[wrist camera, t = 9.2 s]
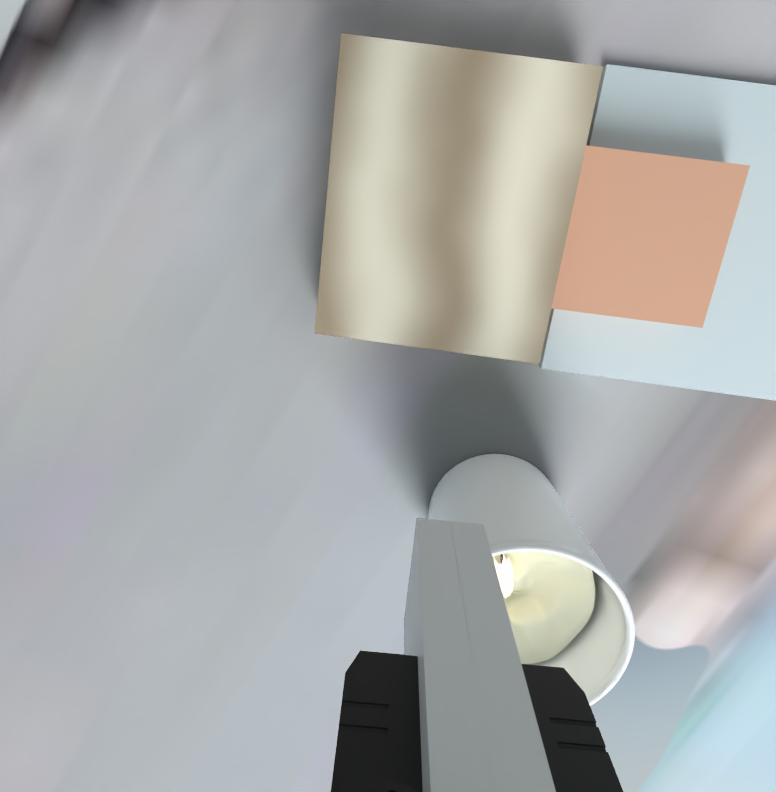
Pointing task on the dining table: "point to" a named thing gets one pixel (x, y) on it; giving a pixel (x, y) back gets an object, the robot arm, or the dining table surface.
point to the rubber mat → (745, 252)
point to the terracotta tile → (647, 235)
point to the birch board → (450, 195)
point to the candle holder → (543, 570)
